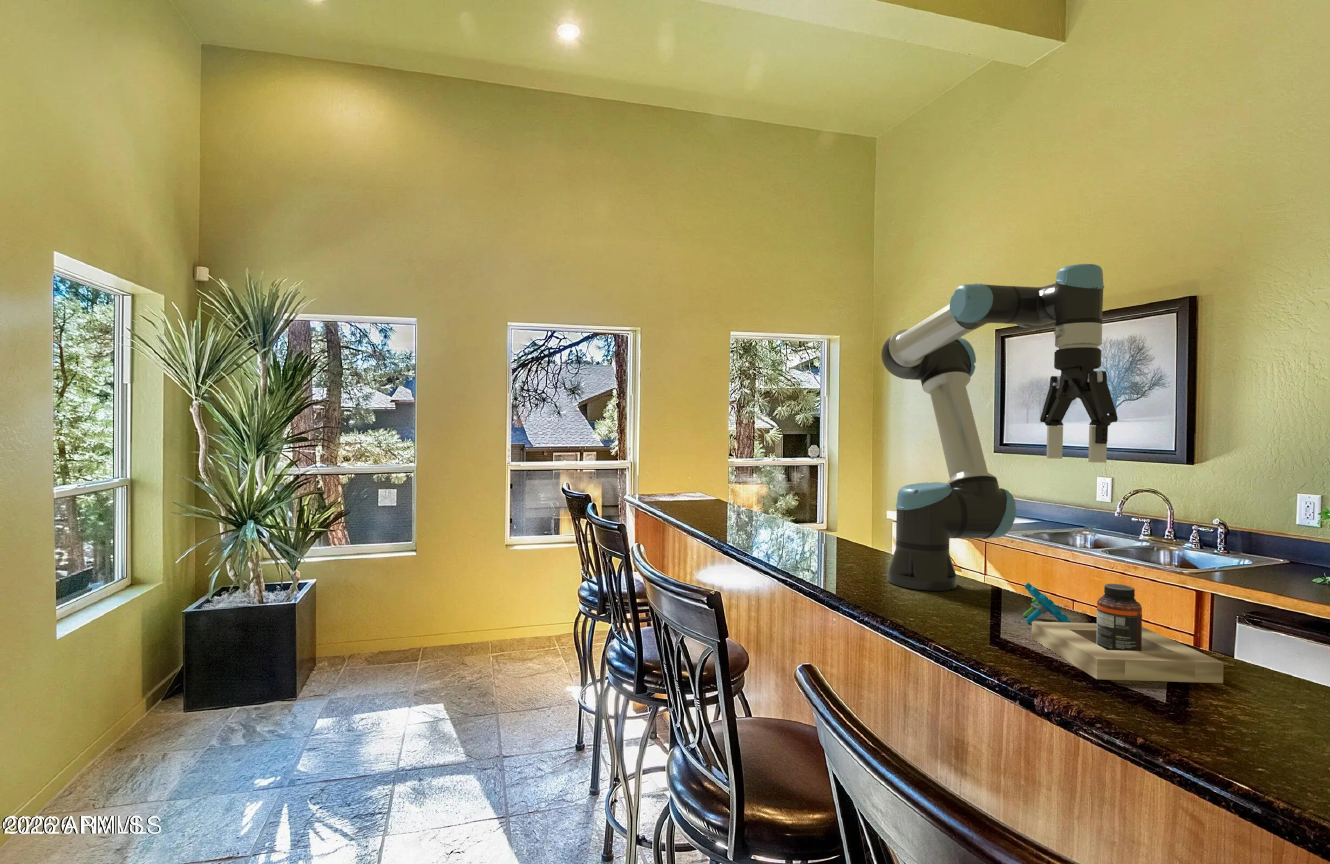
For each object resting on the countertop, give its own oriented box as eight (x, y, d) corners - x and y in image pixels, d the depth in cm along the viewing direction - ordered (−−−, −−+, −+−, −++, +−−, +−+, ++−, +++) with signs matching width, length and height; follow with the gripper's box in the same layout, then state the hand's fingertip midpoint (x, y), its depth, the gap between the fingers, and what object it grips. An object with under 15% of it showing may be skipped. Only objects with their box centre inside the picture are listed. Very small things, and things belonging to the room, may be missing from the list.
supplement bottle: (1124, 651, 107) (1126, 582, 107) (1150, 664, 101) (1152, 591, 101) (1087, 650, 107) (1089, 581, 107) (1111, 663, 101) (1113, 590, 101)
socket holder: (1031, 638, 113) (1031, 621, 113) (1137, 641, 113) (1137, 624, 113) (1096, 679, 95) (1097, 658, 95) (1223, 683, 95) (1223, 662, 95)
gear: (1082, 626, 115) (1037, 582, 118) (1056, 648, 116) (1012, 603, 119) (1063, 617, 126) (1022, 577, 129) (1039, 637, 127) (999, 597, 129)
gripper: (1023, 355, 136) (1020, 456, 136) (1099, 339, 111) (1095, 463, 111) (1059, 355, 135) (1057, 457, 136) (1144, 340, 110) (1140, 464, 111)
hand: (1074, 460), depth 123 cm, fingers open, 13 cm apart
